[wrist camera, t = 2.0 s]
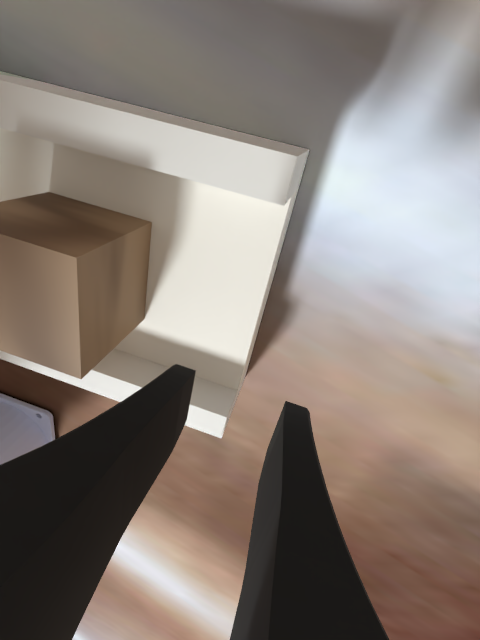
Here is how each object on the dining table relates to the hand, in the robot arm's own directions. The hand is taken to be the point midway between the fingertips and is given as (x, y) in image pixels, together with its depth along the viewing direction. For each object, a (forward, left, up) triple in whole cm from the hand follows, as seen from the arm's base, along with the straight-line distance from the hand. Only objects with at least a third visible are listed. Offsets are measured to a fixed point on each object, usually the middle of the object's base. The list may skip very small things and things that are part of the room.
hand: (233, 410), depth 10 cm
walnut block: (-9, 0, -6) cm, 11 cm away
